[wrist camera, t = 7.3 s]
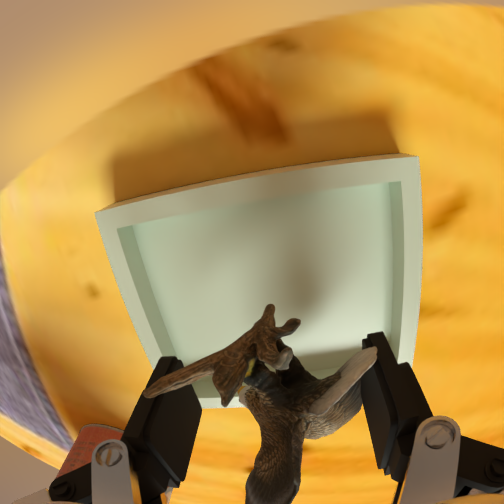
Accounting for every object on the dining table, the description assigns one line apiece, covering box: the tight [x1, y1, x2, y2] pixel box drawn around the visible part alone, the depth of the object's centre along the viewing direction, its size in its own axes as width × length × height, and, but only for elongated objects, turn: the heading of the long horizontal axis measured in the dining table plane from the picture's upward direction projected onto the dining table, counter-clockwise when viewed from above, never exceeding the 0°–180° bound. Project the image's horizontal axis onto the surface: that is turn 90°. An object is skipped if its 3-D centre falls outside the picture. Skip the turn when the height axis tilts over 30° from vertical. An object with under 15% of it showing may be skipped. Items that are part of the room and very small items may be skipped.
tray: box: [95, 153, 423, 408], centre depth 16 cm, size 15×13×2 cm
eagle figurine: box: [143, 304, 377, 504], centre depth 10 cm, size 8×7×9 cm
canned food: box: [56, 424, 173, 504], centre depth 20 cm, size 11×11×12 cm
